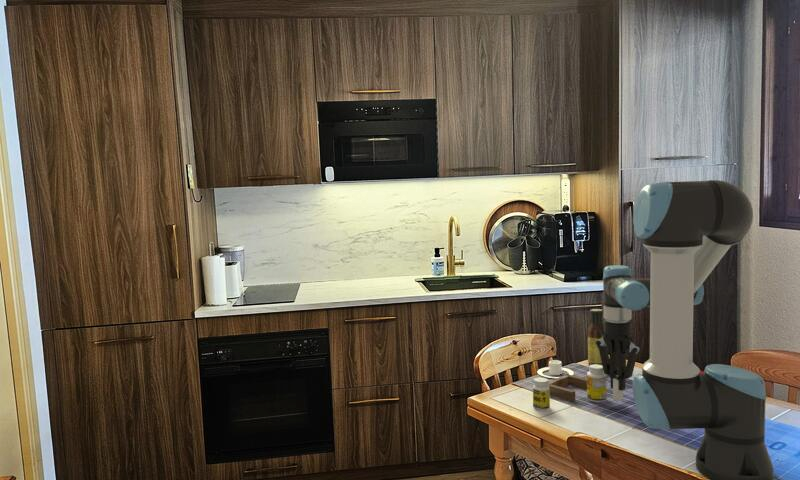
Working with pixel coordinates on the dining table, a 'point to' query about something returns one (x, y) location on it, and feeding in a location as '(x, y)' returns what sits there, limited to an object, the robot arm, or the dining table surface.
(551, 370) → the candle holder
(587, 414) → the dining table surface
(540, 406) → the supplement bottle
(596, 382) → the supplement bottle
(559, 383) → the pocket
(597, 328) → the sauce bottle
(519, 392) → the dining table surface
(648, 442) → the dining table surface
